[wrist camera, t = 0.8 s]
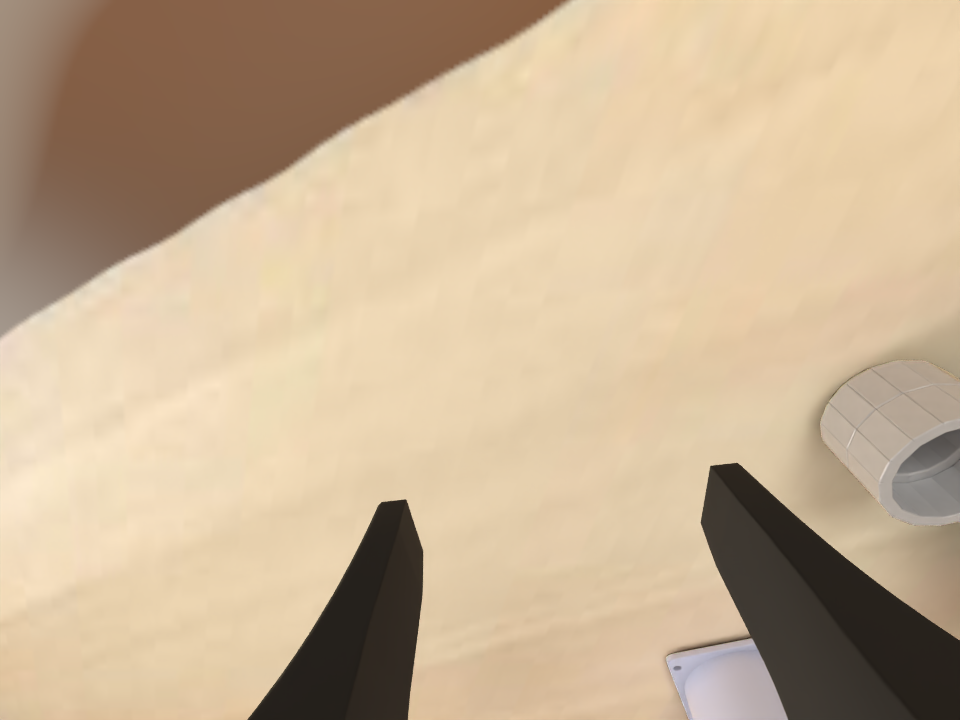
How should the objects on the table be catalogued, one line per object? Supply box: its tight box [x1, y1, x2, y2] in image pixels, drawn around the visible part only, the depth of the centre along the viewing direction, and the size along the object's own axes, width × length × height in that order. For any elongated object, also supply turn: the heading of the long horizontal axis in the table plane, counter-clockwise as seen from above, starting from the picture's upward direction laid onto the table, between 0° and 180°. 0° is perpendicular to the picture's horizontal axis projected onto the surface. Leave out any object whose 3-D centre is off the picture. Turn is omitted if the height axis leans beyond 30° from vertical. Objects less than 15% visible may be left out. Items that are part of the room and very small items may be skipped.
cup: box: [820, 360, 960, 526], centre depth 21 cm, size 5×5×4 cm
